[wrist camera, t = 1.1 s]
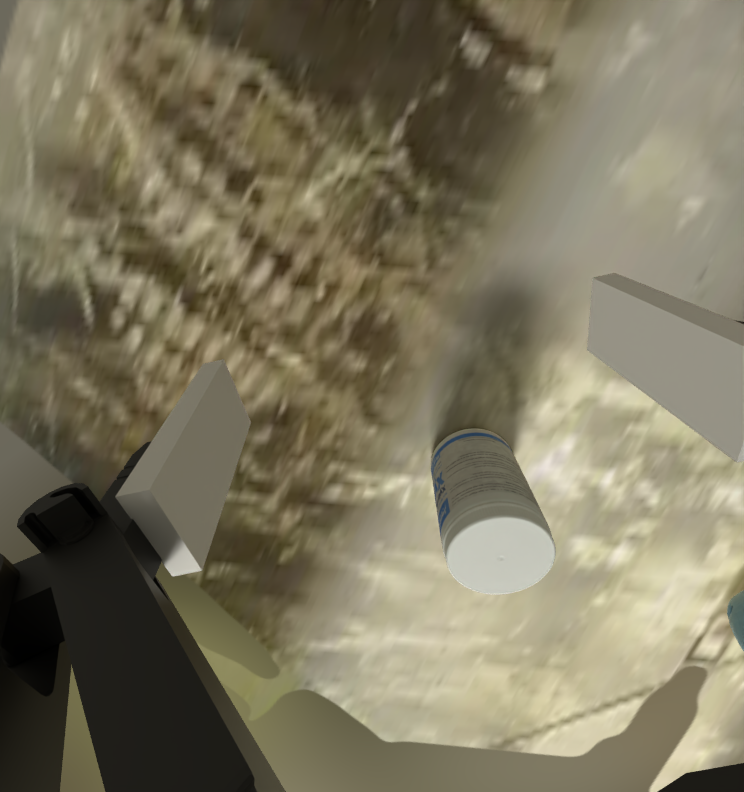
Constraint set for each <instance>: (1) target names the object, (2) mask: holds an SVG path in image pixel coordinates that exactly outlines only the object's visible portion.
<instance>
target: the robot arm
mask: <svg viewBox="0 0 744 792" xmlns="http://www.w3.org/2000/svg"><path fill="white" fill-rule="evenodd" d="M587 350H588V351H589V352H590V353H592V354H593V355H594V356H596V357H597V358H598V359H600V360H601V361H602V362H604V363H605V364H606V365H608V366H609V367H610V368H612V369H613V370H614V371H616V372H617V373H618V374H620V375H621V376H622V377H624V378H625V379H626V380H628V381H629V382H630V383H632V384H633V385H634V386H636V387H637V388H638V389H640V390H641V391H642V392H644V393H645V394H646V395H648V396H649V397H650V398H652V399H653V400H654V401H656V402H657V403H658V404H660V405H661V406H662V407H664V408H665V409H666V410H668V411H669V412H670V413H672V414H673V415H674V416H676V417H677V418H678V419H680V420H681V421H682V422H684V423H685V424H686V425H688V426H689V427H690V428H692V429H693V430H694V431H696V432H697V433H698V434H700V435H701V436H702V437H704V438H705V439H706V440H708V441H709V442H710V443H712V444H713V445H714V446H716V447H717V448H718V449H720V450H721V451H722V452H724V453H725V454H726V455H728V456H729V457H730V458H732V459H733V460H734V461H736V462H741V461H744V322H740V321H735V320H731V319H729V318H726V317H724V316H721V315H719V314H716V313H714V312H711V311H709V310H706V309H704V308H701V307H699V306H696V305H694V304H691V303H689V302H686V301H684V300H681V299H679V298H676V297H674V296H671V295H669V294H666V293H664V292H661V291H659V290H656V289H654V288H651V287H649V286H646V285H644V284H641V283H639V282H636V281H634V280H631V279H629V278H626V277H624V276H621V275H619V274H616V273H612V274H608V275H603V276H599V277H594V278H592V290H591V304H590V317H589V331H588V344H587ZM250 423H251V421H250V419H249V417H248V414H247V412H246V410H245V407H244V405H243V403H242V400H241V398H240V396H239V393H238V391H237V389H236V387H235V384H234V382H233V380H232V377H231V375H230V373H229V370H228V368H227V366H226V363H225V361H224V359H223V360H219V361H214V362H210V363H205V364H203V365H202V366H201V368H200V369H199V371H198V372H197V374H196V375H195V377H194V378H193V380H192V381H191V383H190V384H189V386H188V387H187V389H186V390H185V392H184V394H183V395H182V397H181V398H180V400H179V401H178V403H177V404H176V406H175V407H174V409H173V410H172V412H171V413H170V415H169V416H168V418H167V419H166V421H165V422H164V424H163V425H162V427H161V428H160V430H159V431H158V433H157V434H156V436H155V437H154V439H153V440H152V442H147V443H146V444H144V445H143V446H142V447H141V448H140V449H139V450H138V451H136V452H135V453H134V454H133V455H132V456H131V458H130V459H129V461H128V462H127V463H126V465H125V466H124V470H122V471H121V472H120V474H119V475H118V476H117V480H115V481H114V482H113V484H112V485H111V486H110V488H109V489H108V491H107V492H106V494H105V495H104V496H103V498H102V499H101V501H100V502H99V501H98V499H97V498H96V497H95V495H94V494H93V493H92V491H91V490H90V489H89V487H88V486H86V485H85V484H83V483H74V484H70V485H67V486H63V487H61V488H59V489H56V490H54V491H52V492H50V493H48V494H46V495H45V496H43V497H42V498H40V499H38V500H37V501H36V502H34V503H33V504H32V505H31V506H30V507H29V508H27V509H26V510H25V512H24V513H23V514H22V515H21V517H20V518H19V520H18V524H17V527H18V528H19V529H20V530H21V531H22V532H23V533H24V534H25V535H26V537H27V538H28V539H29V540H30V541H31V542H32V543H33V544H34V545H35V546H36V547H37V548H38V549H39V550H40V552H41V553H39V554H37V555H35V556H32V557H30V558H27V559H25V560H23V561H20V562H18V563H16V564H11V563H10V562H9V561H8V560H7V559H6V558H5V557H4V556H3V555H2V554H0V792H60V782H61V771H62V760H63V749H64V737H65V728H66V727H65V726H66V716H67V706H68V694H69V683H70V673H71V664H72V668H73V671H74V675H75V679H76V682H77V686H78V690H79V694H80V698H81V701H82V705H83V709H84V713H85V717H86V720H87V723H88V728H89V731H90V735H91V739H92V743H93V746H94V750H95V754H96V758H97V762H98V765H99V769H100V773H101V777H102V780H103V784H104V788H105V791H106V792H286V791H285V790H284V788H283V786H282V785H281V783H280V781H279V780H278V778H277V777H276V775H275V773H274V772H273V770H272V768H271V766H270V765H269V763H268V761H267V760H266V758H265V756H264V755H263V753H262V751H261V750H260V748H259V746H258V745H257V743H256V741H255V740H254V738H253V736H252V735H251V733H250V731H249V730H248V728H247V726H246V725H245V723H244V721H243V720H242V718H241V716H240V715H239V713H238V711H237V710H236V708H235V706H234V705H233V703H232V701H231V700H230V698H229V696H228V695H227V693H226V691H225V690H224V688H223V686H222V685H221V683H220V681H219V680H218V678H217V676H216V675H215V673H214V671H213V670H212V668H211V666H210V665H209V663H208V661H207V660H206V658H205V656H204V655H203V653H202V651H201V650H200V648H199V646H198V645H197V643H196V641H195V640H194V638H193V636H192V635H191V633H190V632H189V630H188V628H187V626H186V624H185V623H184V621H183V619H182V618H181V616H180V614H179V613H178V611H177V609H176V608H175V606H174V604H173V603H172V601H171V600H170V598H169V596H168V595H167V593H166V591H165V589H164V588H163V586H162V584H161V583H160V582H159V580H158V579H157V578H156V576H155V575H156V573H157V570H158V568H159V566H160V564H161V561H162V563H163V564H164V566H165V567H166V568H167V570H168V571H169V572H170V574H171V575H172V576H177V575H182V574H187V573H192V572H197V571H202V569H203V566H204V563H205V560H206V557H207V554H208V551H209V548H210V545H211V542H212V539H213V536H214V533H215V530H216V527H217V524H218V521H219V518H220V515H221V512H222V509H223V505H224V502H225V499H226V496H227V493H228V490H229V487H230V484H231V481H232V478H233V475H234V472H235V469H236V466H237V463H238V460H239V457H240V454H241V451H242V448H243V445H244V442H245V439H246V436H247V433H248V430H249V427H250ZM727 611H728V612H727V614H728V618H729V623H730V626H731V628H732V631H733V633H734V635H735V637H736V639H737V641H738V643H739V645H740V646H741V648H742V650H743V651H744V590H743V591H741V592H740V593H738V594H737V595H735V596H734V597H733V598H732V599H731V600H730V602H729V604H728V608H727ZM658 792H744V763H741V764H736V765H730V766H724V767H719V768H713V769H707V770H702V771H696V772H690V773H686V774H684V775H683V776H681V777H679V778H678V779H676V780H675V781H673V782H672V783H670V784H669V785H667V786H666V787H664V788H663V789H661V790H660V791H658Z"/></svg>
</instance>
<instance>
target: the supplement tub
mask: <svg viewBox="0 0 744 792" xmlns="http://www.w3.org/2000/svg"><path fill="white" fill-rule="evenodd" d="M431 472H432V480H433V487H434V494H435V501H436V507H437V515H438V522H439V529H440V536H441V541H442V547H443V553H444V556H445V559H446V562H447V566H448V569H449V571H450V573H451V574H452V576H453V577H454V578H455V579H456V580H457V581H458V582H459V583H460V584H462V585H463V586H465V587H467V588H469V589H471V590H473V591H476V592H480V593H485V594H496V595H499V594H509V593H514V592H518V591H521V590H524V589H526V588H528V587H531V586H532V585H534V584H536V583H537V582H538V581H540V580H541V579H542V578H543V577H544V576H545V575H546V574H547V573H548V572H549V570H550V569H551V567H552V565H553V563H554V559H555V554H556V550H555V544H554V541H553V538H552V535H551V531H550V528H549V526H548V524H547V522H546V520H545V518H544V516H543V514H542V512H541V509H540V507H539V505H538V503H537V501H536V499H535V497H534V495H533V493H532V491H531V489H530V487H529V485H528V483H527V480H526V478H525V476H524V475H523V473H522V471H521V469H520V466H519V464H518V462H517V460H516V458H515V456H514V454H513V452H512V450H511V448H510V446H509V445H508V444H507V442H506V441H505V440H504V439H503V438H501V437H500V436H499V435H497V434H495V433H493V432H491V431H488V430H485V429H478V428H470V429H464V430H460V431H457V432H455V433H452V434H451V435H449V436H447V437H446V438H445V439H443V440H442V441H441V442H440V444H439V445H438V446H437V447H436V449H435V451H434V453H433V456H432V459H431Z"/></svg>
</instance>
